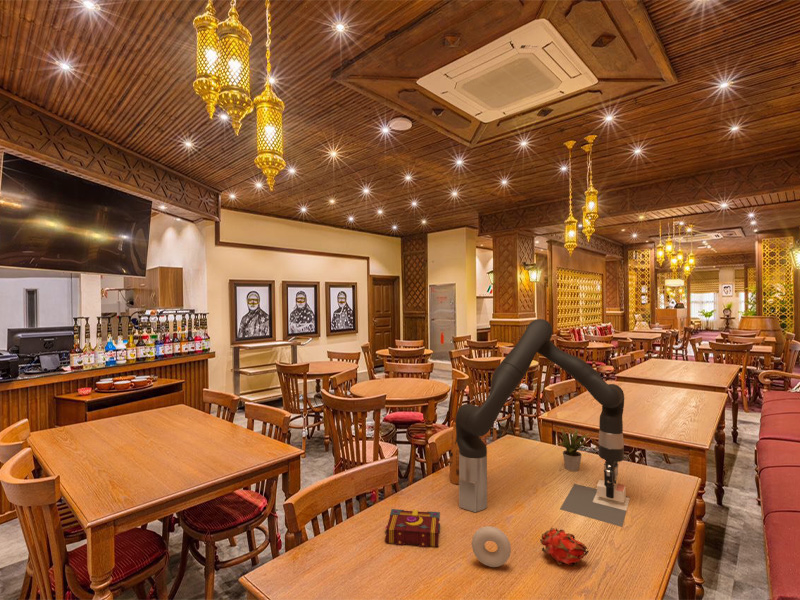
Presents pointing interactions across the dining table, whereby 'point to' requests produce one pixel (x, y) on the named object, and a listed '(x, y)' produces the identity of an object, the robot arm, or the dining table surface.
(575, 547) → the dragon fruit
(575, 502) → the mat
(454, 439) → the coffee package
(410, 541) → the decorative book
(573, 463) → the house plant
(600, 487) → the card box
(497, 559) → the donut
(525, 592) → the dining table surface
